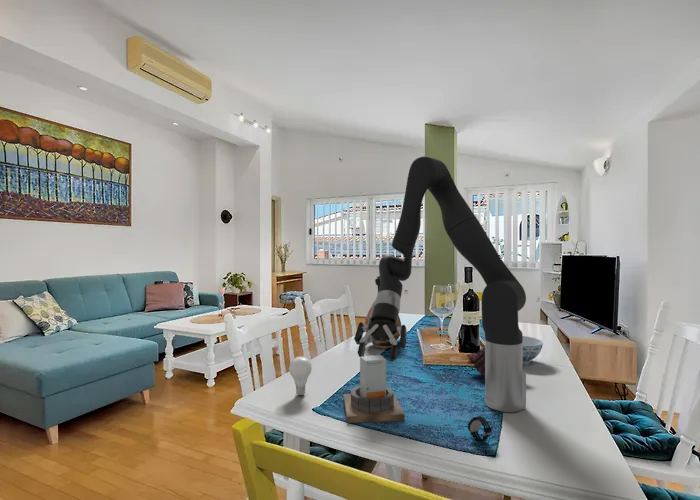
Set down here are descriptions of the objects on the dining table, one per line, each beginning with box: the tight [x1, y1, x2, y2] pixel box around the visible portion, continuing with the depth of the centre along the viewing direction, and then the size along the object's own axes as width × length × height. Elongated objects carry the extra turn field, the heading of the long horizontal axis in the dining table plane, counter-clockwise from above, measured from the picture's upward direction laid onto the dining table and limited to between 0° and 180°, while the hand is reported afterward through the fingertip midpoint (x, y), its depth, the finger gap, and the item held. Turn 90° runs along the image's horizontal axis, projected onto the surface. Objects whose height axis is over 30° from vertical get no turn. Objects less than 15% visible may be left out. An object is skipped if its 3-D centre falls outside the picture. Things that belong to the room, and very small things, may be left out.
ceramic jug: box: [364, 275, 402, 349], centre depth 161 cm, size 17×15×30 cm
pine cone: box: [466, 347, 525, 376], centre depth 123 cm, size 18×10×10 cm, turn 57°
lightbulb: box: [288, 356, 313, 397], centre depth 109 cm, size 6×6×11 cm
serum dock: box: [343, 385, 405, 424], centre depth 100 cm, size 14×14×4 cm
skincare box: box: [359, 354, 387, 399], centre depth 100 cm, size 6×4×12 cm
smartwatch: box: [467, 415, 492, 443], centre depth 84 cm, size 4×5×5 cm
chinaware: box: [523, 335, 544, 365], centre depth 140 cm, size 15×15×8 cm
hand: (376, 358), depth 103 cm, fingers open, 8 cm apart
